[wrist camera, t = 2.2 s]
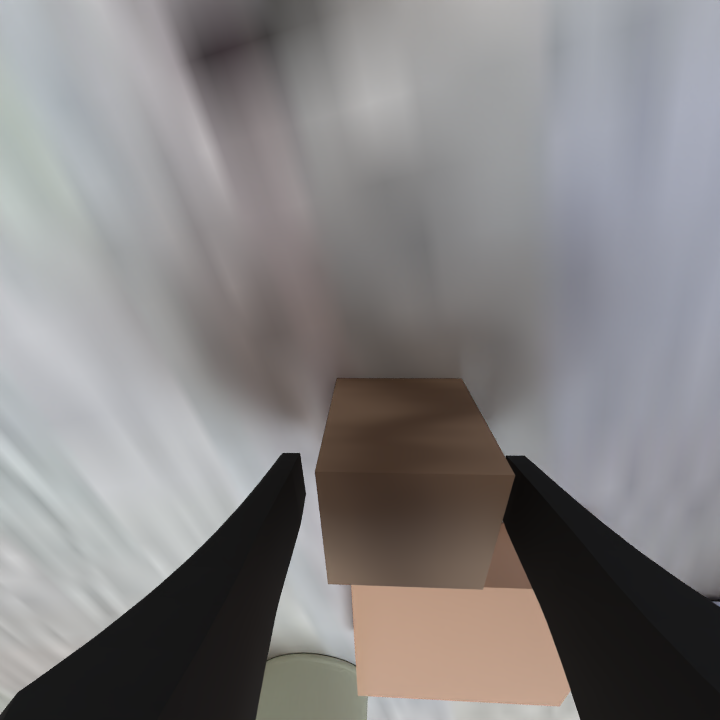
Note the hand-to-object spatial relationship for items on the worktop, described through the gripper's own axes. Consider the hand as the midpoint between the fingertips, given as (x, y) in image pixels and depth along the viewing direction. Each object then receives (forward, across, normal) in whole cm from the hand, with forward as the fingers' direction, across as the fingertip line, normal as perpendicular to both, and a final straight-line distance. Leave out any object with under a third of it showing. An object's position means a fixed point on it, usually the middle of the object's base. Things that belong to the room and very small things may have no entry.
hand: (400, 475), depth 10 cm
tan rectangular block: (+3, -4, +12) cm, 13 cm away
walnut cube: (+3, 0, 0) cm, 3 cm away
